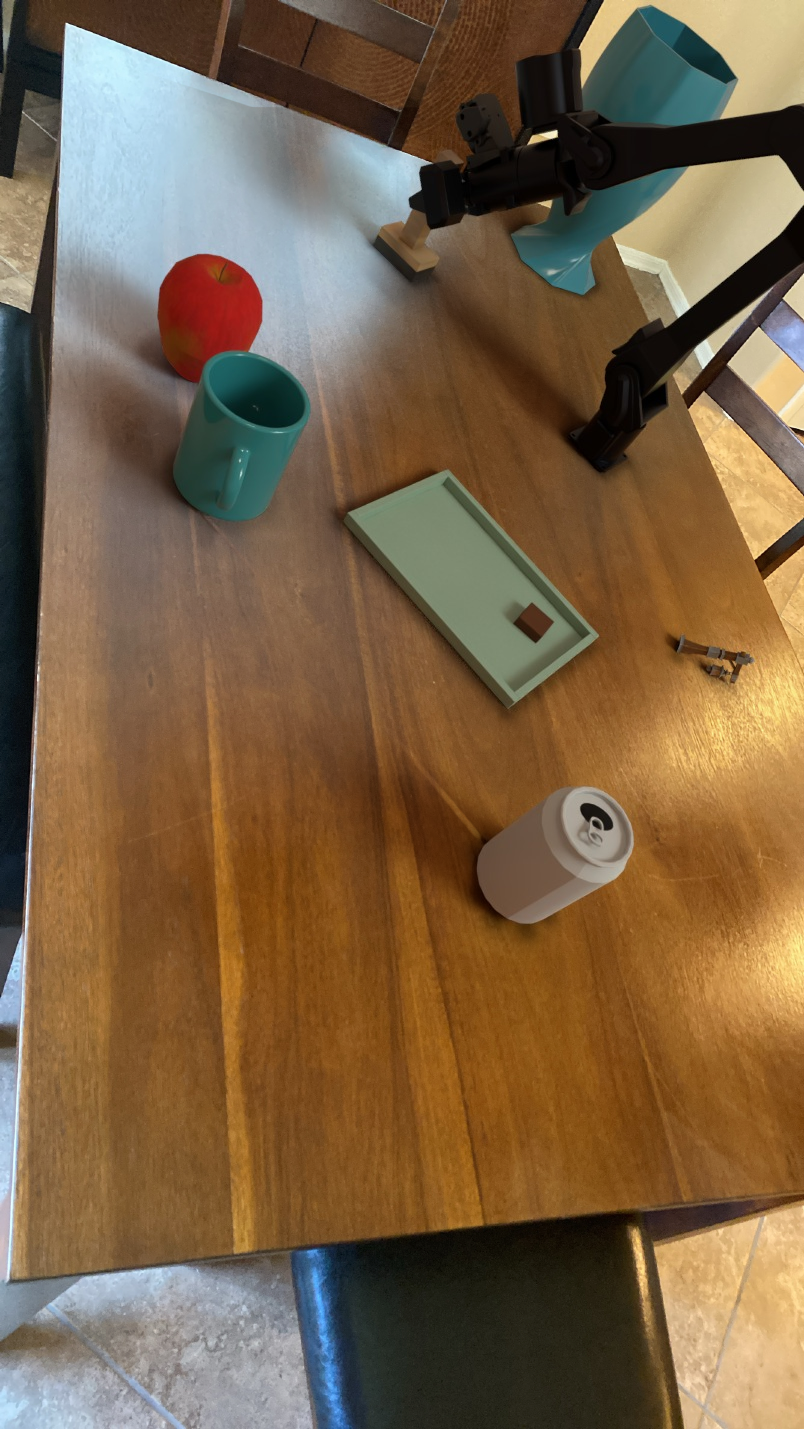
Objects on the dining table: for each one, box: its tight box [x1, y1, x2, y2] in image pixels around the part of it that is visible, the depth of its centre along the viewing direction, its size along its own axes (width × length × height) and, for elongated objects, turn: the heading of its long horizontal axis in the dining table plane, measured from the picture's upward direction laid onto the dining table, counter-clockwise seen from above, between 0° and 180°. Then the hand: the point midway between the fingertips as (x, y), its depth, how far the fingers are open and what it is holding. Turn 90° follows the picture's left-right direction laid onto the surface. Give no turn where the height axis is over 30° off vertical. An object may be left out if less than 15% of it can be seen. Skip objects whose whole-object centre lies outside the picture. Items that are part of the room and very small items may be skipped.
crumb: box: [514, 603, 554, 643], centre depth 86 cm, size 3×3×1 cm
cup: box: [172, 351, 312, 522], centre depth 73 cm, size 9×12×11 cm
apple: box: [156, 253, 264, 384], centre depth 80 cm, size 9×9×12 cm
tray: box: [342, 468, 600, 710], centre depth 85 cm, size 16×24×2 cm, turn 46°
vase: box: [510, 4, 739, 296], centre depth 119 cm, size 17×17×30 cm
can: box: [476, 785, 635, 925], centre depth 66 cm, size 8×8×12 cm
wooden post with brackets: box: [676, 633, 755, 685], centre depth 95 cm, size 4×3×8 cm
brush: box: [372, 149, 465, 283], centre depth 106 cm, size 7×4×14 cm, turn 51°
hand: (417, 200), depth 106 cm, fingers open, 3 cm apart
